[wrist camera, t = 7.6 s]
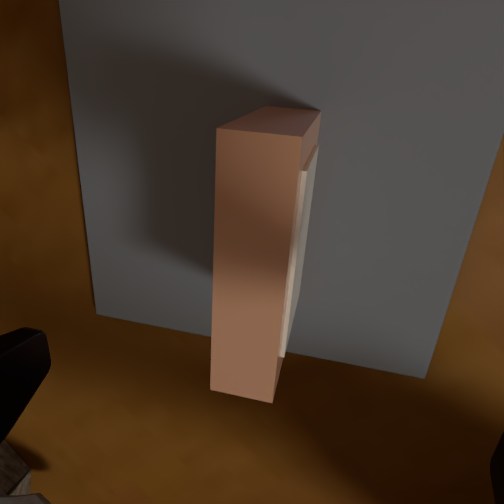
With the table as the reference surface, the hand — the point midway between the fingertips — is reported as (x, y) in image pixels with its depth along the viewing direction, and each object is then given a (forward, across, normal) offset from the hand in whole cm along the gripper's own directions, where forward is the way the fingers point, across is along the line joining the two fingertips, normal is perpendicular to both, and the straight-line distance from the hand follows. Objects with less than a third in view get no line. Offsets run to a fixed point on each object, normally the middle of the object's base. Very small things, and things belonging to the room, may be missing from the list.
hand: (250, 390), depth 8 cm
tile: (+9, +1, 0) cm, 9 cm away
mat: (+10, +2, -1) cm, 10 cm away
